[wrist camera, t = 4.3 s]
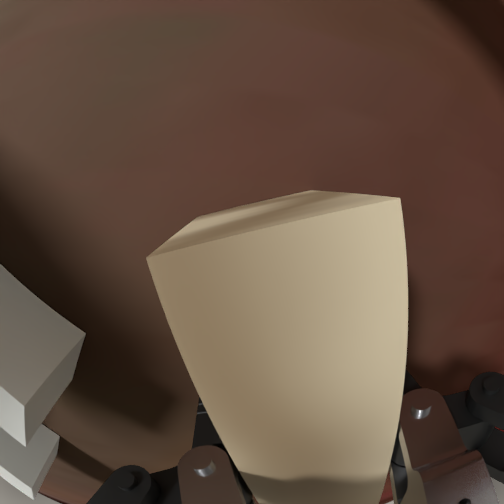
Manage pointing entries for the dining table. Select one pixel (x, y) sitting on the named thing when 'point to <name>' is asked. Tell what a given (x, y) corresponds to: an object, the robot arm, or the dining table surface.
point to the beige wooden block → (295, 338)
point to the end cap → (31, 381)
